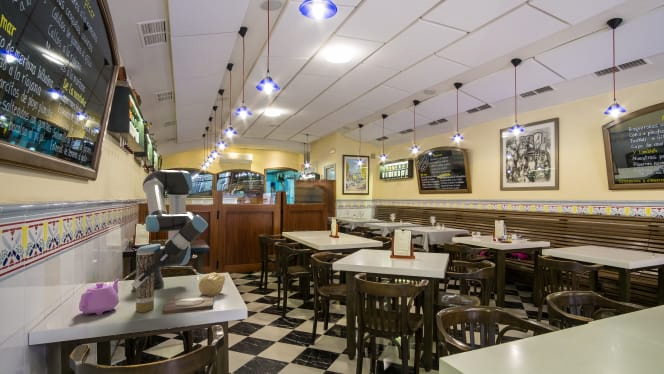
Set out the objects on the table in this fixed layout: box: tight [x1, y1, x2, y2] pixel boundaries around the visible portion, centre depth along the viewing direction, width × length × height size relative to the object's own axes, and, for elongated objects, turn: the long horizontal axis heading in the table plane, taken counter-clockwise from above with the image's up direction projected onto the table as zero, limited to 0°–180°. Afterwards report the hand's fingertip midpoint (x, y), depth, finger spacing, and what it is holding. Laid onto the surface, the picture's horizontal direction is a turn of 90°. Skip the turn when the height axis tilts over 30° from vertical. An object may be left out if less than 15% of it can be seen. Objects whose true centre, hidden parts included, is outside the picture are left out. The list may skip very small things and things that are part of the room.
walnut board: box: [161, 295, 215, 315], centre depth 153 cm, size 16×20×2 cm
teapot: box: [78, 277, 120, 316], centre depth 147 cm, size 20×14×12 cm
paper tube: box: [135, 251, 155, 313], centre depth 148 cm, size 7×7×25 cm
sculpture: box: [198, 272, 226, 296], centre depth 172 cm, size 12×12×11 cm
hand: (135, 284), depth 147 cm, fingers closed on paper tube, 7 cm apart
